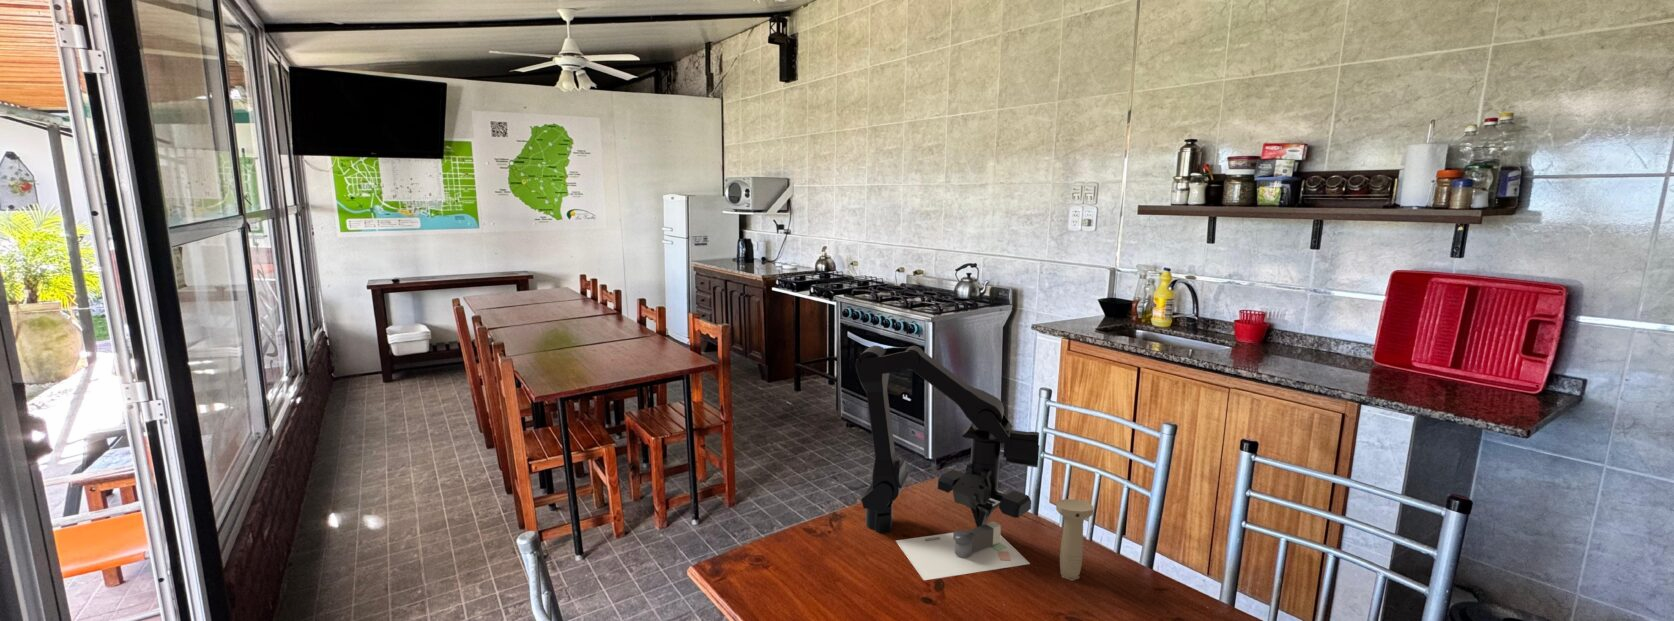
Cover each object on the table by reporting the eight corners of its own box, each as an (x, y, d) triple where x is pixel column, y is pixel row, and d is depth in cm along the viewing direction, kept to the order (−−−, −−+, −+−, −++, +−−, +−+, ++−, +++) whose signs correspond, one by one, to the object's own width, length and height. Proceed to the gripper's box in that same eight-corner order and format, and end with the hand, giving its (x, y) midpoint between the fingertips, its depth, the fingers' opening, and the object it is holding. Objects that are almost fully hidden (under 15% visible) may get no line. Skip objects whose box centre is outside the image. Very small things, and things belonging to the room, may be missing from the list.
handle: (1090, 588, 126) (1096, 512, 124) (1054, 586, 127) (1059, 510, 124) (1083, 574, 131) (1089, 500, 128) (1049, 572, 131) (1054, 498, 129)
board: (895, 545, 141) (895, 539, 141) (992, 531, 147) (992, 526, 147) (923, 585, 127) (923, 579, 127) (1029, 568, 133) (1030, 562, 133)
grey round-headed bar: (962, 560, 133) (963, 542, 132) (948, 551, 136) (949, 533, 136) (1003, 544, 139) (1003, 527, 138) (988, 536, 142) (989, 519, 142)
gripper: (923, 457, 139) (920, 528, 142) (1007, 486, 126) (1001, 564, 129) (954, 442, 147) (950, 510, 150) (1035, 468, 134) (1029, 542, 137)
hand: (980, 531), depth 141 cm, fingers closed
